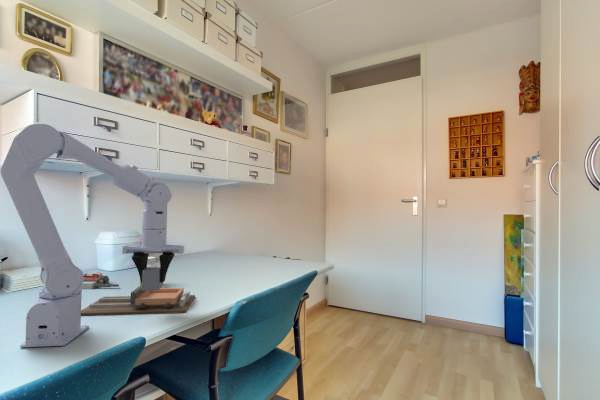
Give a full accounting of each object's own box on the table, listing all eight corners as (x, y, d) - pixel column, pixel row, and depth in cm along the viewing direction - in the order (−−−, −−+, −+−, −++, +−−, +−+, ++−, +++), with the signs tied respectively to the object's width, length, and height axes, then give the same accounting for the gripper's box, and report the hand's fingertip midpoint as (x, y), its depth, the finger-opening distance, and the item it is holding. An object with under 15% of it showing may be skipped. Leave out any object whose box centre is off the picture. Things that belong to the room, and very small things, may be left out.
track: (184, 312, 80) (185, 302, 80) (76, 315, 77) (76, 305, 77) (194, 296, 94) (195, 288, 94) (103, 298, 90) (103, 290, 90)
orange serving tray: (174, 308, 81) (174, 292, 81) (129, 309, 80) (129, 293, 80) (184, 295, 93) (184, 281, 93) (144, 296, 91) (145, 282, 91)
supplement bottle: (139, 284, 107) (140, 256, 107) (157, 283, 109) (157, 255, 109) (139, 288, 102) (140, 259, 102) (157, 287, 104) (158, 258, 104)
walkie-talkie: (53, 289, 100) (116, 290, 100) (54, 276, 100) (117, 277, 101) (72, 283, 108) (130, 283, 109) (73, 270, 108) (130, 271, 109)
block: (158, 290, 77) (159, 270, 77) (141, 290, 76) (142, 270, 76) (163, 286, 81) (163, 267, 81) (147, 286, 80) (147, 267, 80)
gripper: (187, 227, 84) (185, 277, 84) (131, 227, 82) (129, 278, 82) (181, 230, 77) (179, 284, 77) (119, 229, 75) (117, 285, 75)
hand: (153, 281), depth 79 cm, fingers closed on block, 4 cm apart
